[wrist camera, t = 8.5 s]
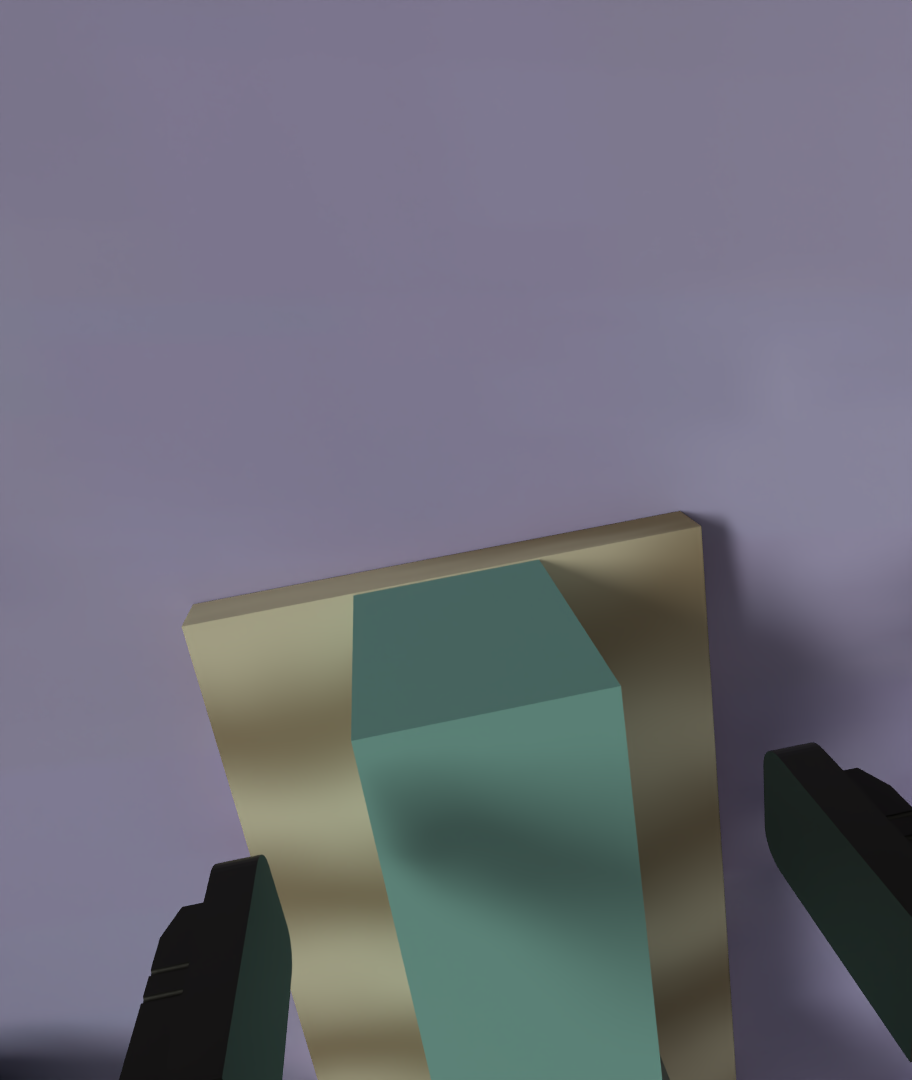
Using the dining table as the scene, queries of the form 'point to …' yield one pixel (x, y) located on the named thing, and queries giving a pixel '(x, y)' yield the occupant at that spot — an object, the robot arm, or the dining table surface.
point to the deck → (341, 813)
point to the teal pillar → (504, 828)
